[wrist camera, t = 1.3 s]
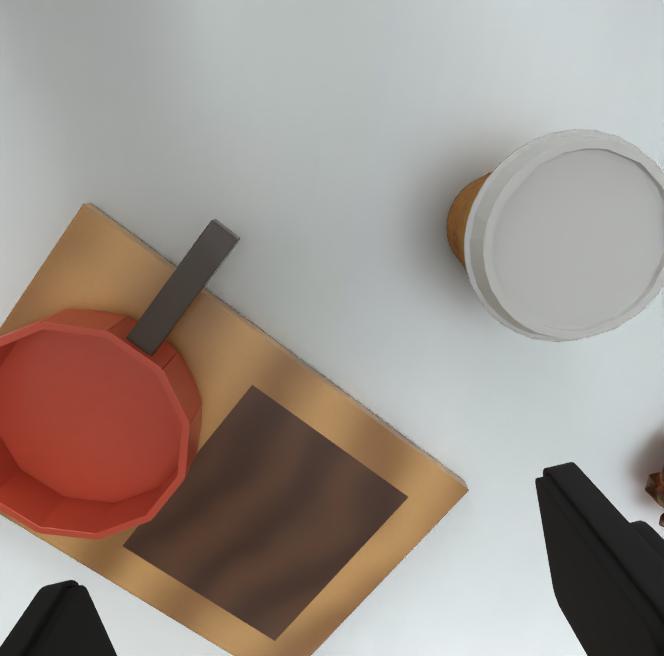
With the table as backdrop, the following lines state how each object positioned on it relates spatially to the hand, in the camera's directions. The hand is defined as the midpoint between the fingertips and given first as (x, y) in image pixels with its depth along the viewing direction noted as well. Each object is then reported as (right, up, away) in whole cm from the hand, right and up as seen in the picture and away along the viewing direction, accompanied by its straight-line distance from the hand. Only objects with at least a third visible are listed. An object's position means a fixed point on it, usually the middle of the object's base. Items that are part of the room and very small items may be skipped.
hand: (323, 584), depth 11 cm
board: (-9, -5, +28) cm, 30 cm away
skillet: (-13, +3, +25) cm, 28 cm away
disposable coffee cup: (+11, +12, +24) cm, 29 cm away
